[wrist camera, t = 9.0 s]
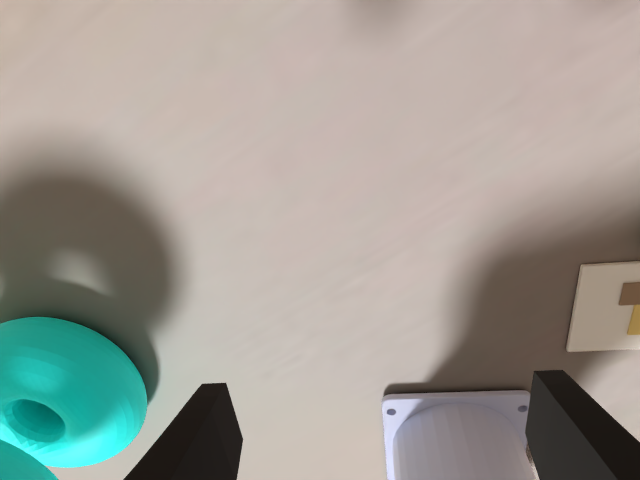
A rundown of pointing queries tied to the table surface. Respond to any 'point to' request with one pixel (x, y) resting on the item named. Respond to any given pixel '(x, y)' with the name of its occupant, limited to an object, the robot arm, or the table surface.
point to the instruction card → (606, 308)
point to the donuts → (63, 398)
